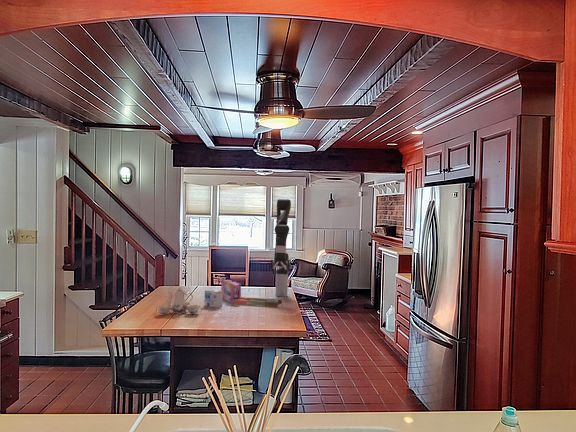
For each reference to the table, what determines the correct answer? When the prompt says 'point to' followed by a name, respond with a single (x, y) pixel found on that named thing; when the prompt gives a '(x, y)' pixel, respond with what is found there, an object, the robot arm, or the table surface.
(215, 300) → the light bulb box
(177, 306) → the chinaware
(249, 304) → the track
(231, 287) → the gum box
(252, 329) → the table surface
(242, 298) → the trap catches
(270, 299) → the slate block
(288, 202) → the robot arm
